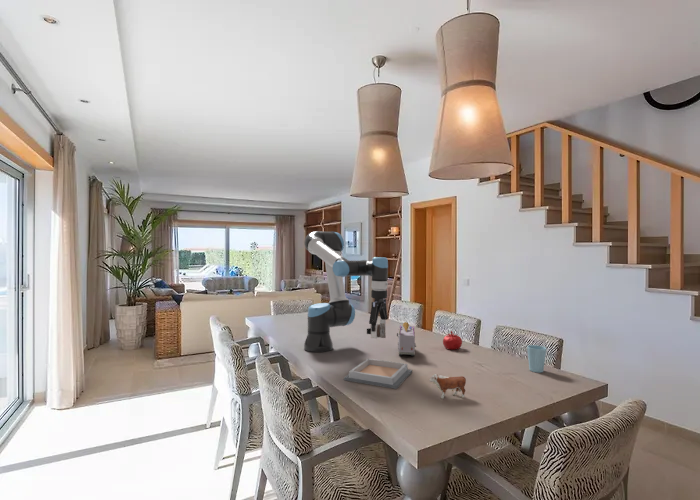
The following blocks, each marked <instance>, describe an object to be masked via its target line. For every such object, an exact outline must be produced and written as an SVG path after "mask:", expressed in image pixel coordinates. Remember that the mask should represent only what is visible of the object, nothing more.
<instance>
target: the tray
mask: <svg viewBox="0 0 700 500" xmlns="http://www.w3.org/2000/svg"><path fill="white" fill-rule="evenodd" d="M412 372H413V369H410V368H409V369H408V363H404V362H395V361H389V360H381V359H376V358H375V359H374V358H366V359H365V360H363V361H362V362H360V363H359V364H358V365H356V366H355V367H353V368H352V369H350V370H349V371H348V374H347V375H345V376H344V377H343V380H344V381H348V382H353V383H359V384H366V385H371V386H376V387H377V386H378V387H383V388H388V389H389V388H390V389H395V390H397V389H398V388H399V387H400V386H401V385H402V383H404V381H405V380H406V379H407V378H408V377H409V376H410V375H412Z"/></svg>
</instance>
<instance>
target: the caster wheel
mask: <svg viewBox="0 0 700 500" xmlns="http://www.w3.org/2000/svg"><path fill="white" fill-rule="evenodd" d="M376 324H377V338H380V339H386V336H387V335H386V326H385V324H384V323H380V322H379V323H376ZM366 334H367V335H371V327H370V328H366Z"/></svg>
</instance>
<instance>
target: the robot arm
mask: <svg viewBox="0 0 700 500" xmlns="http://www.w3.org/2000/svg"><path fill="white" fill-rule="evenodd" d="M303 243H304V244H303V246H304V248H305V249H306V251H307V252H309V253H310V254H311V255H316V257H318V258H319V259H321V260H322V261H323V262H324V263H325V264H324V265H325V271H326V276H327V277H326V278H327V285H328V286H327V287H328V292H329V302H321V303H319V302H318V303H315V304H311V305H309V306H308V309H307V335H306V337H305V341H304V344H303V349H304V350H305V351H307V352H312V353H324V352H330V351H331V350H333V349H334V348H333V347H334V344H333V341H332V337H331V334H330V330H331V329H330V328H335V327H337V328H338V327H344V326H350V325H351V324H352V323H353V322H354V319H355V317H356V309H355V306H354V305H353V304H352V303H350V300H349V298H347V296H346V292H345V285H344V284H345V283H344V279H343V278H344V277H363V276H364V277H371V289H372V290H371V295H370V296H371V298H372V299H373V300H374V301H372V302H371V309H370V314H369V321H368V323H369V324H370V328H371V334H370V338H371V339H376V340H377V339H378V337H377V324H378V323H377V322H378V319H379V317H380V319H379V324H380V323H384V324H385V327H386V323H387V322H386V321H387V320H388V308H387V298H388V285H389V283H388V274H389V270H388V269H389V261H388V258H387V257H383V256H382V257H381V256H379V257H378V256H374V257H372V259H371V260H367V259H362V260H349V259H347V258H345V257H344V256H343V255H342V251H343V250H344V246H345V241H344V237H343V235H342V234H341V233H339V232H336V231H320V230H316V231H312V232H309V233H308V234H307V235H306V236H305V238H304V241H303Z"/></svg>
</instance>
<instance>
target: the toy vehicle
mask: <svg viewBox="0 0 700 500" xmlns="http://www.w3.org/2000/svg"><path fill="white" fill-rule="evenodd" d="M396 337H397V338H398V340H397V345H398V346H397V348H398V356H403V355H410V356H411V357H414V356H415V355H416V352H415V350H416V349H415V348H417V344H416V339H415V338H416V336H415V327H414V326H410V324H409V323H408V322H407V321H405V322H403V323H402V326H401V325H399V329H398V332H397V333H396Z"/></svg>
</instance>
